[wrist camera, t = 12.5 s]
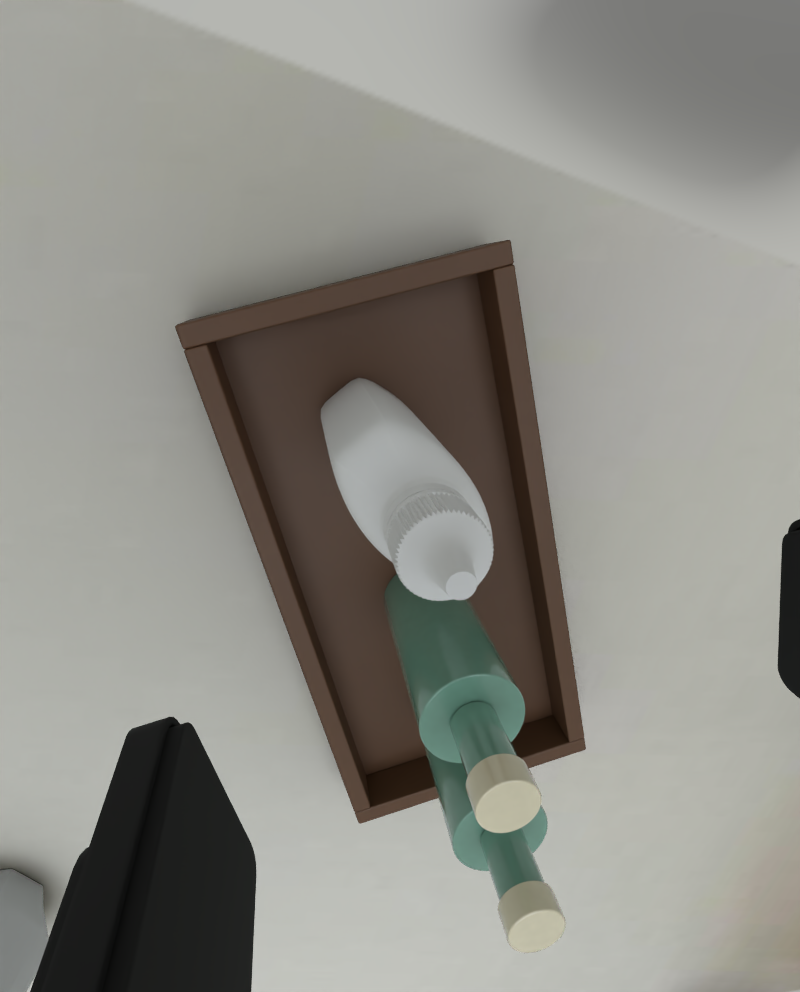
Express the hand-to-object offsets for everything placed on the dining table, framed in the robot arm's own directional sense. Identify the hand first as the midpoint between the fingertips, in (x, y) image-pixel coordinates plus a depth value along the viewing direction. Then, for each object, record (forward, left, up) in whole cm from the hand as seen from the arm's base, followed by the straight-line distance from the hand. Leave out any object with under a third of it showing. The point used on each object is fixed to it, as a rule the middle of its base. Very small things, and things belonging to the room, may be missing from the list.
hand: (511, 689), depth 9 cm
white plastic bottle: (0, 0, -16) cm, 16 cm away
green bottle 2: (+13, 0, -16) cm, 21 cm away
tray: (+6, 0, -16) cm, 17 cm away
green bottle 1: (+8, 0, -16) cm, 18 cm away
